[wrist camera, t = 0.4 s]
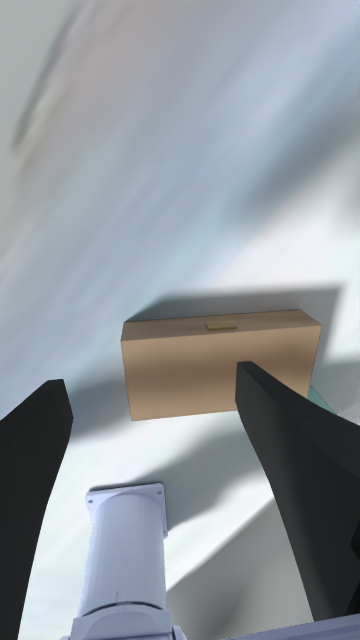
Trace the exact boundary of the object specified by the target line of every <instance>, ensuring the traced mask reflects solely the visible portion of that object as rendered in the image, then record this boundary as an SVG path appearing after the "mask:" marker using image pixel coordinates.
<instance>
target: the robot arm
mask: <svg viewBox="0 0 360 640" xmlns="http://www.w3.org/2000/svg"><path fill="white" fill-rule="evenodd" d="M235 402H236V406H237V409H238V412H239V415H240V418H241V421H242V423H243V426H244V428H245V430H246V432H247V434H248V437H249V439H250V441H251V443H252V445H253V447H254V449H255V452H256V454H257V456H258V458H259V460H260V462H261V464H262V466H263V469H264V471H265V473H266V476H267V478H268V480H269V483H270V486H271V488H272V491H273V494H274V497H275V500H276V502H277V505H278V508H279V511H280V514H281V517H282V520H283V523H284V526H285V528H286V531H287V534H288V538H289V541H290V544H291V547H292V550H293V553H294V556H295V559H296V563H297V566H298V569H299V572H300V575H301V579H302V582H303V586H304V589H305V592H306V596H307V599H308V602H309V606H310V609H311V612H312V616H313V619H314V622H311V623H306V624H301V625H295V626H290V627H284V628H279V629H273V630H268V631H263V632H257V633H252V634H246V635H241V636H236V637H230V638H225V639H219V640H360V426H359V425H357V424H355V423H352V422H350V421H348V420H346V419H344V418H342V417H339V416H337V415H336V414H334V413H332V412H330V411H328V410H326V409H324V408H322V407H320V406H318V405H317V404H315V403H313V402H311V401H310V400H308V399H306V398H305V397H303V396H302V395H300V394H298V393H297V392H295V391H294V390H292V389H291V388H289V387H288V386H286V385H285V384H283V383H282V382H280V381H279V380H277V379H276V378H275V377H273V376H272V375H270V374H269V373H268V372H266V371H265V370H263V369H262V368H261V367H259V366H258V365H257V364H255V363H254V362H252V361H242V362H237V369H236V387H235ZM72 423H73V414H72V410H71V406H70V403H69V399H68V395H67V391H66V387H65V384H64V380H63V379H57V380H48V381H46V382H45V383H44V384H43V385H41V386H40V387H39V388H38V389H37V390H35V391H34V392H33V393H32V394H31V395H30V396H29V397H28V398H26V399H25V400H24V401H23V402H22V403H21V404H19V405H18V406H17V407H16V408H15V409H14V410H13V411H11V412H10V413H9V414H8V415H7V416H5V417H4V418H3V419H2V420H0V640H17V639H18V634H19V628H20V622H21V617H22V612H23V607H24V602H25V597H26V592H27V588H28V583H29V578H30V573H31V569H32V564H33V560H34V555H35V551H36V546H37V542H38V538H39V534H40V530H41V526H42V522H43V518H44V514H45V510H46V507H47V504H48V500H49V497H50V494H51V491H52V489H53V486H54V483H55V480H56V477H57V474H58V471H59V468H60V466H61V463H62V460H63V457H64V454H65V451H66V448H67V445H68V442H69V438H70V433H71V428H72ZM85 501H86V504H87V508H88V512H89V515H90V519H91V523H92V530H91V536H90V542H89V548H88V554H87V560H86V566H85V572H84V578H83V584H82V590H81V596H80V602H79V608H78V614H77V618H74V619H73V624H72V630H71V636H63V637H62V638H61V639H60V640H187V638H186V636H185V635H184V634H183V632H182V630H181V628H180V627H179V626H177V625H175V626H172V619H171V610H167V608H166V586H165V565H164V544H163V539H166V538H167V537H168V533H167V520H166V508H165V496H164V485H163V484H161V483H156V484H148V485H140V486H132V487H124V488H116V489H108V490H100V491H92V492H88V493H86V495H85Z"/></svg>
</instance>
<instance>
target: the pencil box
mask: <svg viewBox="0 0 360 640" xmlns="http://www.w3.org/2000/svg"><path fill="white" fill-rule="evenodd" d="M321 327H322V325H320V324H319V323H318V322H316V321H315V320H314V319H312V318H311V317H309V316H308V315H307V314H305V313H304V312H303V311H301V310H288V311H274V312H259V313H245V314H231V315H217V316H203V317H189V318H175V319H161V320H147V321H133V322H124V325H123V330H122V336H121V349H122V356H123V363H124V371H125V378H126V385H127V393H128V400H129V408H130V415H131V421H139V420H149V419H158V418H168V417H178V416H187V415H197V414H207V413H216V412H226V411H236V410H238V409H237V406H236V402H235V387H236V369H237V362H242V361H252V362H254V363H255V364H257V365H258V366H259V367H261V368H262V369H263V370H265V371H266V372H268V373H269V374H270V375H272V376H273V377H275V378H276V379H277V380H279V381H280V382H282V383H283V384H285V385H286V386H288V387H289V388H291V389H292V390H294V391H295V392H297V393H298V394H300V395H302V396H303V397H305V398H306V399H307V394H308V389H309V384H310V380H311V375H312V370H313V365H314V361H315V356H316V351H317V346H318V342H319V337H320V332H321Z"/></svg>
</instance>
